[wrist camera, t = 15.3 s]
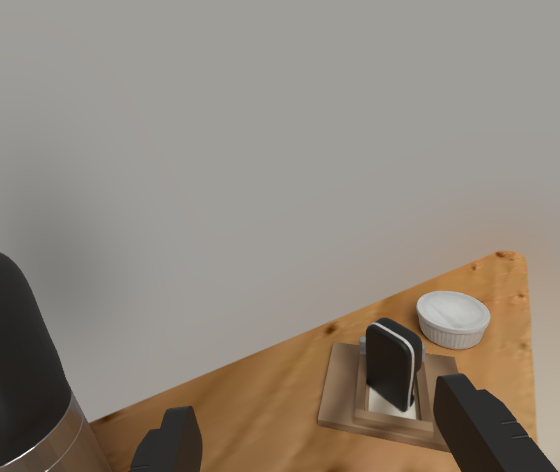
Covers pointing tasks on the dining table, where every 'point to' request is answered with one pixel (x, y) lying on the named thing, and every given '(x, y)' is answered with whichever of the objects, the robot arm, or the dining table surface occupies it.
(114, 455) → the dining table surface
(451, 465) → the dining table surface
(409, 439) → the rail board
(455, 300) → the ramekin
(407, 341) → the battery charger
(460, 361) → the dining table surface
